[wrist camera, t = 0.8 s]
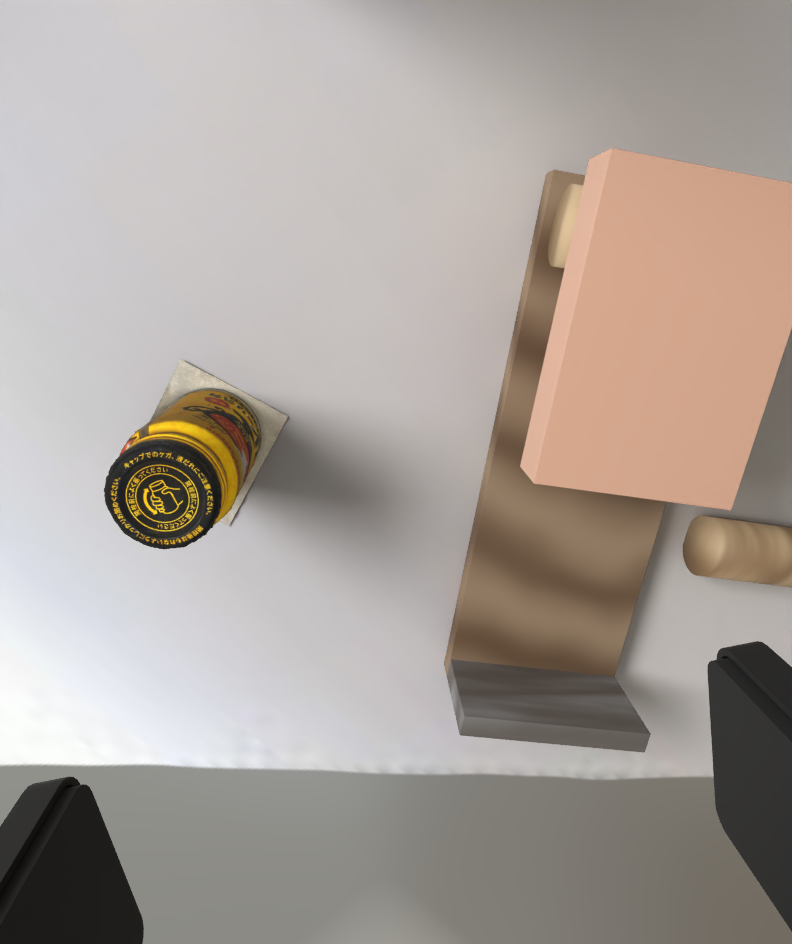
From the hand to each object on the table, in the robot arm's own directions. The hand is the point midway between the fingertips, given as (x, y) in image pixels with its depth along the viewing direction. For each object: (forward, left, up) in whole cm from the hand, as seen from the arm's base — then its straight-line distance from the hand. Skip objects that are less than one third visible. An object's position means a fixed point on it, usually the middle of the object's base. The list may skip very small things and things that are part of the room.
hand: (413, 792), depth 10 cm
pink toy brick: (-6, +14, -31) cm, 34 cm away
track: (+2, +14, -32) cm, 35 cm away
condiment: (+5, -10, -33) cm, 34 cm away
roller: (+7, +28, -33) cm, 44 cm away
